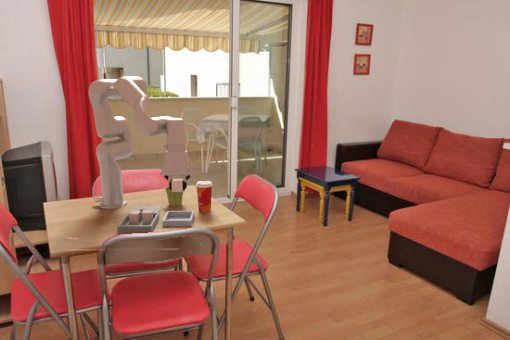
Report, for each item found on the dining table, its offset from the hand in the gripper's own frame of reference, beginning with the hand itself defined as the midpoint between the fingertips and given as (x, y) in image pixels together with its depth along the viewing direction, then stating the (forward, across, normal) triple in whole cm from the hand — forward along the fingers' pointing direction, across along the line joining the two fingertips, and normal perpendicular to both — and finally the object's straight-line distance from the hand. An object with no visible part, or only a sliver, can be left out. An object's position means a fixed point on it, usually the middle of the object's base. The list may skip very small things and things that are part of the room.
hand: (178, 189), depth 171 cm
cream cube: (0, 0, 0) cm, 0 cm away
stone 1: (+14, -19, 0) cm, 23 cm away
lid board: (+15, -18, +12) cm, 26 cm away
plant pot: (+15, -5, +23) cm, 28 cm away
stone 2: (+14, -13, 0) cm, 19 cm away
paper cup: (+15, +10, +14) cm, 23 cm away
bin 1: (+15, -16, -4) cm, 22 cm away
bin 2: (+15, 0, 0) cm, 15 cm away
